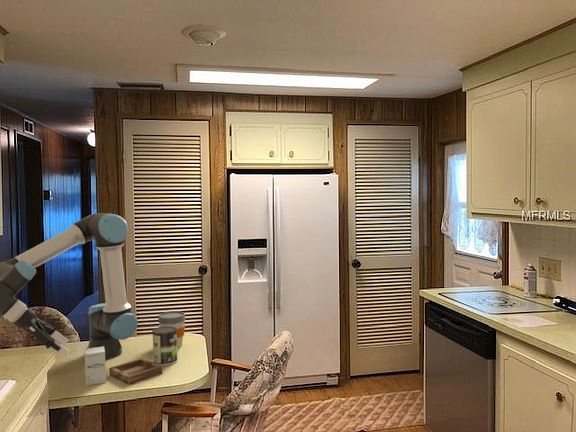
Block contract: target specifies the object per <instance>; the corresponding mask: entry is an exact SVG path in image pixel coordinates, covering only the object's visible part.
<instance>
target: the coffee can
mask: <svg viewBox="0 0 576 432" xmlns="http://www.w3.org/2000/svg"><path fill="white" fill-rule="evenodd" d="M151 333H152V351H153V352H152V353H153V355H152V357H153V362H154V363H156V364H158V365H160V366H162V367H163V366H165V367H167V366H170V365H174V364H176V363H178V361H179V360H178V348H177V328H175V327H170V326H165V327H160V326H159V327H156V328H153V329H152V332H151Z"/></svg>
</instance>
